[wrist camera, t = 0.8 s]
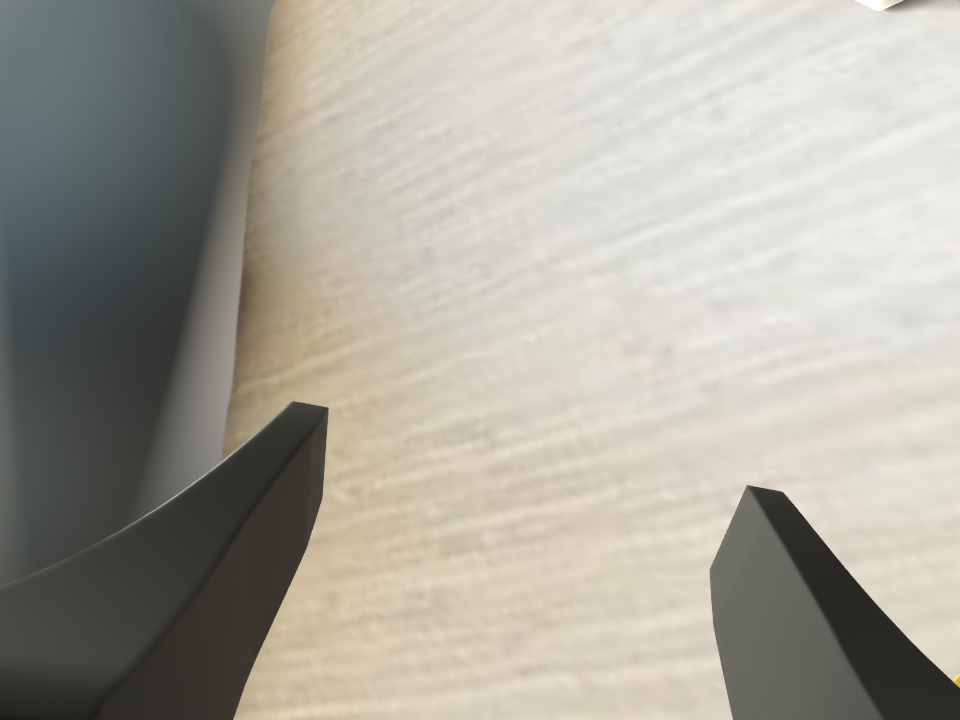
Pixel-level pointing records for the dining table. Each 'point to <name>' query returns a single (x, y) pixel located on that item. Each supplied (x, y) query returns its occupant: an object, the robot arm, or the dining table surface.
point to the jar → (879, 3)
